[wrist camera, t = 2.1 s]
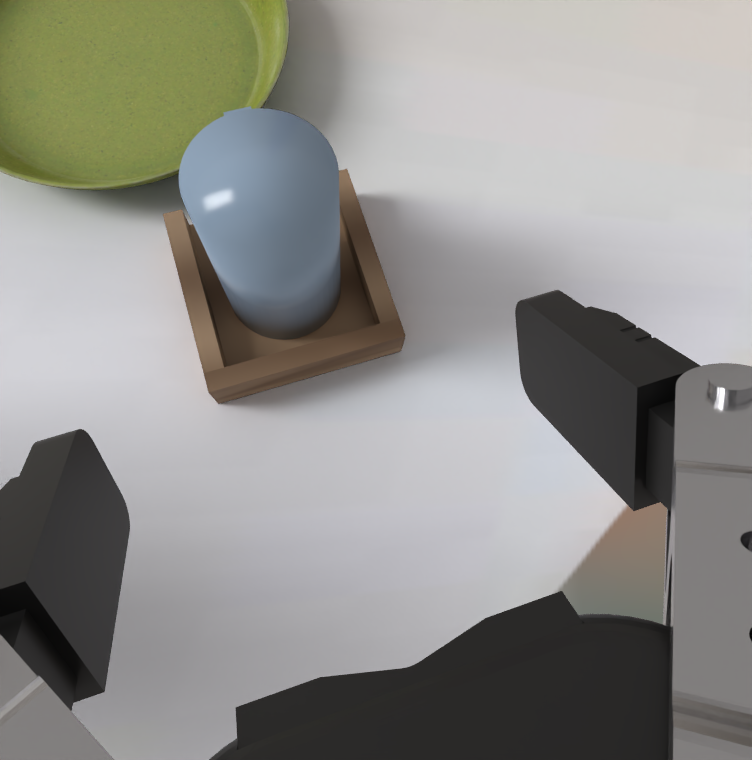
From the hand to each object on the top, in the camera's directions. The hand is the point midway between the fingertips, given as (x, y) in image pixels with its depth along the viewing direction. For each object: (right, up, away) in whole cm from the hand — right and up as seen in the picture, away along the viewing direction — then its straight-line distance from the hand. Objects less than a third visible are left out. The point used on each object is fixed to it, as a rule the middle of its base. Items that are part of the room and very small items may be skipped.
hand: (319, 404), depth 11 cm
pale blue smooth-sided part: (-4, +5, +21) cm, 22 cm away
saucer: (-14, +19, +26) cm, 36 cm away
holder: (-4, +5, +22) cm, 23 cm away
